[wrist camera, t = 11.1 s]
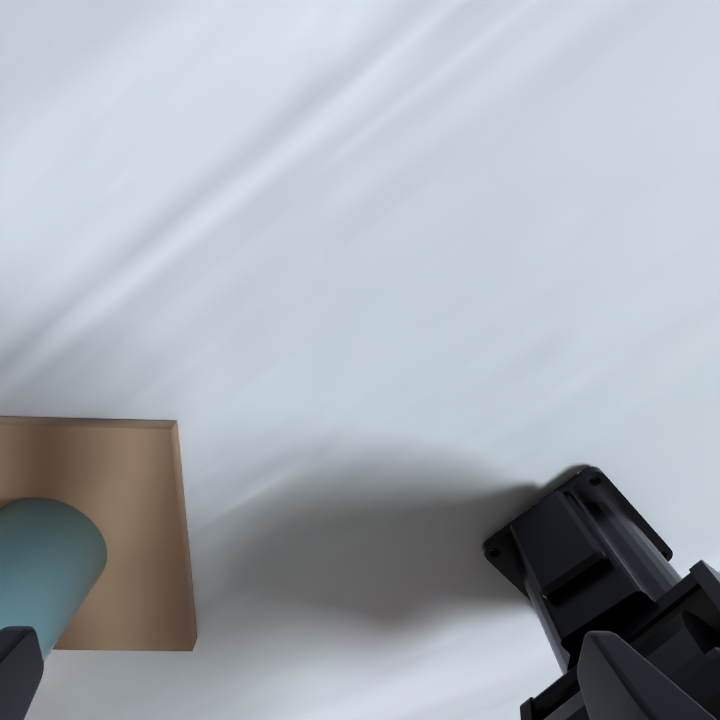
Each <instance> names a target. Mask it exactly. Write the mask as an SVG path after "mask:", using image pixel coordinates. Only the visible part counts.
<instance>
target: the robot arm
mask: <svg viewBox="0 0 720 720" xmlns="http://www.w3.org/2000/svg"><path fill="white" fill-rule="evenodd" d="M594 476H596V479H595V480H593V481H590V479H591V478H592V477H594ZM494 548H498V549H497V550H496V551H491V550H492V549H494ZM482 549H483V553H484V555H485V557H486V559H487V560H488V561H489V562H490V563H491V564H492V565H494V566H495V567H496V568H497V569H498V570H499V571H500V572H501V573H502V574H503V575H504V576H505V577H506V578H507V579H508V580H509V581H510V582H511V583H512V584H513V585H515V586H516V587H517V588H518V589H519V590H520V591H521V592H522V593H523V594H524V595H525V596H526V597H527V598H528V599H529V600H530V601H531V602H532V604H533V606H534V608H535V611H536V613H537V615H538V618H539V620H540V622H541V624H542V627H543V629H544V631H545V634H546V636H547V638H548V641H549V643H550V645H551V648H552V650H553V652H554V654H555V657H556V659H557V661H558V664H559V666H560V668H561V671H562V673H563V676H561V677H560V678H559V679H558V680H556V681H555V682H554V683H553V684H551V685H550V686H549V687H548V688H546V689H545V690H544V691H543V692H541V693H540V694H539V695H538V696H536V697H535V698H532V697H530V698H529V699H528V700H527V701H525V702H524V703H523V704H522V705H520V715H521V720H720V574H719V573H718V572H717V571H715V570H714V569H713V568H712V567H710V566H709V565H708V564H707V563H705V562H704V561H703V560H700V561H699V562H698V563H696V564H695V565H694V566H693V567H691V568H690V569H689V571H690V572H691V573H689V574H688V575H687V576H686V577H684V578H683V579H682V578H681V577H680V576H679V574H678V573H677V572H676V571H675V570H674V568H673V567H672V566H671V565H670V564H669V563H668V561H670V560H671V558H672V556H673V552H672V550H671V549H670V548H669V547H668V546H667V544H666V543H665V542H664V541H663V540H662V539H661V538H660V537H659V535H658V534H657V533H656V532H655V531H654V530H653V529H652V527H651V526H650V525H649V524H648V523H647V522H646V521H645V520H644V518H643V517H642V516H641V515H640V514H639V513H638V512H637V511H636V509H635V508H634V507H633V506H632V505H631V504H630V503H629V501H628V500H627V499H626V498H625V497H624V496H623V495H622V494H621V492H620V491H619V490H618V489H617V488H616V487H615V486H614V485H613V483H612V482H611V481H610V480H609V479H608V478H607V477H606V475H605V474H604V473H603V472H602V471H601V470H600V469H599V468H597V467H588V468H586V469H584V470H583V471H581V472H580V473H579V474H577V475H576V476H574V477H573V478H572V479H570V480H569V481H568V482H566V483H565V484H563V485H562V486H561V487H559V488H558V489H557V490H555V491H554V492H552V493H551V494H550V495H548V496H547V497H545V498H544V499H543V500H541V501H540V502H539V503H537V504H536V505H534V506H533V507H532V508H530V509H529V510H528V511H526V512H525V513H523V514H522V515H521V516H519V517H518V518H517V519H515V520H514V521H512V522H511V523H510V524H508V525H507V526H506V527H504V528H503V529H501V530H500V531H499V532H497V533H496V534H495V535H493V536H492V537H490V538H489V539H488V540H486V541H485V542H484V543H483V546H482ZM660 552H661V553H660ZM43 669H44V662H43V657H42V653H41V649H40V645H39V641H38V636H37V632H36V630H35V629H34V628H33V627H31V626H8V627H5V628H3V629H1V630H0V720H24V718H25V716H26V713H27V711H28V709H29V707H30V704H31V702H32V700H33V697H34V695H35V693H36V690H37V688H38V686H39V683H40V681H41V678H42V675H43Z"/></svg>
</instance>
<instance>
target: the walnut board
mask: <svg viewBox="0 0 720 720" xmlns="http://www.w3.org/2000/svg"><path fill="white" fill-rule="evenodd" d="M24 498H47V499H53V500H56V501H60V502H63V503H65V504H68V505H70V506H72V507H74V508H76V509H77V510H79V511H80V512H82V513H83V514H85V515H86V516H87V517H88V518H89V519H90V520H91V521H92V522H93V523H94V524H95V525H96V527H97V528H98V529H99V531H100V532H101V534H102V536H103V538H104V541H105V544H106V548H107V562H106V566H105V569H104V571H103V573H102V574H101V576H100V578H99V579H98V581H97V582H96V584H95V585H94V587H93V588H92V590H91V591H90V593H89V594H88V596H87V597H86V599H85V600H84V602H83V603H82V605H81V606H80V608H79V609H78V611H77V612H76V614H75V615H74V617H73V618H72V620H71V622H70V623H69V625H68V626H67V628H66V629H65V631H64V632H63V634H62V635H61V637H60V638H59V640H58V641H57V643H56V644H55V646H54V647H53V649H56V650H134V651H193V648H194V645H195V642H196V639H197V630H196V619H195V609H194V598H193V587H192V576H191V565H190V554H189V544H188V533H187V522H186V511H185V500H184V490H183V479H182V468H181V457H180V446H179V435H178V425H177V421H164V420H124V419H85V418H45V417H6V416H0V509H1V508H2V507H3V506H5V505H7V504H8V503H11V502H13V501H16V500H20V499H24Z"/></svg>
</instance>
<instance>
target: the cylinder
mask: <svg viewBox="0 0 720 720" xmlns="http://www.w3.org/2000/svg"><path fill="white" fill-rule="evenodd" d="M106 562H107V548H106V544H105V541H104V538H103V536H102V534H101V532H100V531H99V529H98V528H97V527H96V525H95V524H94V523H93V522H92V521H91V520H90V519H89V518H88V517H87V516H86V515H85V514H83V513H82V512H80V511H79V510H77V509H76V508H74V507H72V506H70V505H68V504H65V503H63V502H60V501H56V500H53V499H47V498H24V499H20V500H16V501H13V502H11V503H8V504H7V505H5V506H3V507H2V508H1V509H0V630H1V629H3V628H5V627H8V626H31V627H33V628H34V629H35V630H36V632H37V636H38V641H39V645H40V649H41V653H42V657H43V662H44V661H45V659H46V658H47V656H48V655H49V653H50V652H51V650H52V649H53V647H54V646H55V644H56V643H57V641H58V640H59V638H60V637H61V635H62V634H63V632H64V631H65V629H66V628H67V626H68V625H69V623H70V622H71V620H72V618H73V617H74V615H75V614H76V612H77V611H78V609H79V608H80V606H81V605H82V603H83V602H84V600H85V599H86V597H87V596H88V594H89V593H90V591H91V590H92V588H93V587H94V585H95V584H96V582H97V581H98V579H99V578H100V576H101V574H102V573H103V571H104V569H105V566H106Z"/></svg>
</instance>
